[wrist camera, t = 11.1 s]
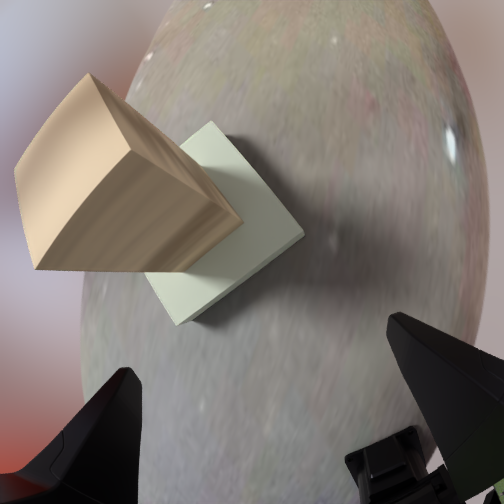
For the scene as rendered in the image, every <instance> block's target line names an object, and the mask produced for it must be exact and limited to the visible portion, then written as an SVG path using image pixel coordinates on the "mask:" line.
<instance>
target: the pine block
mask: <svg viewBox="0 0 504 504" xmlns="http://www.w3.org/2000/svg"><path fill="white" fill-rule="evenodd" d="M14 173H15V181H16V189H17V195H18V202H19V207H20V213H21V218H22V223H23V227H24V232H25V236H26V240H27V244H28V248H29V252H30V255H31V259H32V262H33V266H34V269H35V270H56V271H93V272H166V273H183V272H185V271H186V270H187V269H188V268H189V267H191V266H192V265H193V264H194V263H195V262H197V261H198V260H199V259H200V258H201V257H203V256H204V255H205V254H206V253H207V252H209V251H210V250H211V249H212V248H214V247H215V246H216V245H217V244H218V243H220V242H221V241H222V240H223V239H225V238H226V237H227V236H228V235H230V234H231V233H232V232H233V231H235V230H236V229H237V228H238V227H239V226H241V225H242V224H243V223H244V222H243V220H242V219H241V218H240V216H239V215H238V214H237V212H236V211H235V210H234V208H233V207H232V206H231V205H230V203H229V202H228V201H227V199H226V198H225V197H224V195H223V194H222V193H221V191H220V190H219V189H218V187H217V186H216V185H215V184H214V182H213V181H212V180H211V178H210V177H209V176H208V174H207V173H206V172H205V170H204V169H203V168H202V167H201V165H199V164H198V163H197V162H196V161H195V160H194V159H193V158H191V157H190V156H189V155H188V154H187V153H186V152H184V151H183V150H182V149H181V148H180V147H179V146H178V145H176V144H175V143H174V142H173V141H172V140H171V139H169V138H168V137H167V136H166V135H165V134H163V133H162V132H161V131H160V130H159V129H158V128H156V127H155V126H154V125H153V124H152V123H150V122H149V121H148V120H147V119H146V118H144V117H143V116H142V115H141V114H140V113H138V112H137V111H136V110H135V109H134V108H132V107H131V106H130V105H129V104H127V103H126V102H125V101H124V100H123V99H121V98H120V97H119V96H118V95H116V94H115V93H114V92H113V91H111V90H110V89H109V88H108V87H106V86H105V85H104V84H103V83H101V82H100V81H99V80H98V79H96V78H95V77H94V76H93V75H91V74H90V73H88V74H87V75H86V76H85V77H84V78H83V79H82V80H81V81H80V82H79V83H78V84H77V85H76V86H75V87H74V88H73V89H72V91H71V92H70V93H69V94H68V95H67V96H66V97H65V99H64V100H63V101H62V102H61V103H60V104H59V106H58V107H57V108H56V109H55V111H54V112H53V113H52V114H51V116H50V117H49V118H48V120H47V121H46V122H45V124H44V125H43V126H42V128H41V129H40V130H39V132H38V133H37V135H36V136H35V137H34V139H33V140H32V142H31V143H30V145H29V146H28V148H27V149H26V151H25V152H24V154H23V156H22V157H21V159H20V161H19V162H18V164H17V165H16V167H15V169H14Z"/></svg>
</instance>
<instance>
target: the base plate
mask: <svg viewBox="0 0 504 504" xmlns="http://www.w3.org/2000/svg"><path fill="white" fill-rule="evenodd" d="M179 147H180V148H181V149H182V150H183V151H184V152H186V153H187V154H188V155H189V156H190V157H191V158H193V159H194V160H195V161H196V162H197V163H198V164H199V165H201V167H202V168H203V169H204V170H205V172H206V173H207V174H208V176H209V177H210V178H211V180H212V181H213V182H214V184H215V185H216V186H217V187H218V189H219V190H220V191H221V193H222V194H223V195H224V197H225V198H226V199H227V201H228V202H229V203H230V205H231V206H232V207H233V208H234V210H235V211H236V212H237V214H238V215H239V216H240V218H241V219H242V220H243V222H244V223H243V224H242V225H241V226H239V227H238V228H237V229H236V230H235V231H233V232H232V233H231V234H230V235H228V236H227V237H226V238H225V239H223V240H222V241H221V242H220V243H218V244H217V245H216V246H215V247H214V248H212V249H211V250H210V251H209V252H207V253H206V254H205V255H204V256H203V257H201V258H200V259H199V260H198V261H197V262H195V263H194V264H193V265H192V266H191V267H189V268H188V269H187V270H186V271H185V272H183V273H166V272H144V273H145V275H146V277H147V279H148V280H149V282H150V284H151V286H152V287H153V289H154V291H155V292H156V294H157V296H158V297H159V299H160V301H161V302H162V304H163V306H164V307H165V309H166V310H167V312H168V314H169V315H170V317H171V318H172V320H173V321H174V323H175V325H176V326H178V325H181V324H184V323H186V322H189V321H192V320H193V319H194V318H196V317H197V316H198V315H200V314H201V313H202V312H204V311H205V310H207V309H208V308H209V307H211V306H212V305H213V304H215V303H216V302H217V301H219V300H220V299H221V298H223V297H224V296H226V295H227V294H228V293H230V292H231V291H232V290H234V289H235V288H236V287H238V286H239V285H240V284H242V283H243V282H244V281H246V280H247V279H248V278H250V277H251V276H252V275H254V274H255V273H256V272H258V271H259V270H260V269H262V268H263V267H264V266H266V265H267V264H268V263H270V262H271V261H272V260H273V259H275V258H276V257H277V256H279V255H280V254H281V253H283V252H284V251H285V250H287V249H288V248H289V247H291V246H292V245H293V244H294V243H296V242H297V241H298V240H300V239H301V238H302V237H304V236H305V234H304V231H303V229H302V228H301V227H300V225H299V224H298V223H297V222H296V220H295V219H294V218H293V217H292V215H291V214H290V213H289V211H288V210H287V209H286V208H285V206H284V205H283V204H282V203H281V201H280V200H279V199H278V198H277V197H276V195H275V194H274V193H273V192H272V190H271V189H270V188H269V187H268V186H267V184H266V183H265V182H264V181H263V180H262V178H261V177H260V176H259V175H258V174H257V172H256V171H255V170H254V169H253V168H252V166H251V165H250V164H249V163H248V162H247V161H246V159H245V158H244V157H243V156H242V155H241V154H240V152H239V151H238V150H237V149H236V148H235V147H234V145H233V144H232V143H231V142H230V141H229V140H228V139H227V138H226V136H225V135H224V134H223V133H222V132H221V131H220V130H219V129H218V127H217V126H216V125H215V124H214V123H213V122H212V121H210V122H209V123H207V124H206V125H205V126H204V127H202V128H201V129H200V130H199V131H197V132H196V133H195V134H194V135H192V136H191V137H190V138H189V139H188V140H186V141H185V142H184V143H183V144H182V145H181V146H179Z"/></svg>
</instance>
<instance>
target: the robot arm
mask: <svg viewBox="0 0 504 504" xmlns="http://www.w3.org/2000/svg"><path fill="white" fill-rule="evenodd" d="M386 335H387V339H388V341H389V344H390V346H391V349H392V351H393V353H394V356H395V358H396V361H397V363H398V366H399V368H400V371H401V373H402V375H403V377H404V379H405V381H406V383H407V385H408V386H409V388H410V390H411V392H412V394H413V396H414V398H415V400H416V402H417V404H418V406H419V408H420V410H421V412H422V414H423V416H424V418H425V420H426V422H427V424H428V426H429V429H430V431H431V433H432V435H433V437H434V439H435V442H436V444H437V446H438V448H439V450H440V453H441V455H442V457H443V460H444V461H445V465H446V467H447V469H446V467H445V465H444V464H442V465H441V466H439V467H438V469H436V470H435V471H433V472H432V473H430V474H428V472H427V470H426V464H425V460H424V456H423V452H422V448H421V445H420V441H419V438H418V434H417V431H416V429H415V427H414V426H410V427H408V428H406V429H404V430H402V431H400V432H398V433H396V434H394V435H392V436H390V437H388V438H385V439H383V440H381V441H379V442H377V443H374V444H372V445H370V446H367V447H365V448H363V449H360V450H358V451H355V452H353V453H350V454H348V455H346V456H345V463H346V465H347V467H348V469H349V471H350V473H351V475H352V477H353V479H354V481H355V483H356V484H357V486H358V488H359V495H360V504H466V503H465V501H466V500H468V499H470V498H472V497H474V496H476V495H478V494H479V493H481V492H483V491H484V490H486V489H488V488H489V487H491V486H494V489H493V490H492V491H490V492H489V493H488V494H487V495H486V497H485V500H484V503H483V504H504V360H502V359H499V358H497V357H495V356H493V355H491V354H488V353H486V352H484V351H482V350H479V349H478V348H476V347H474V346H472V345H469V344H467V343H465V342H463V341H461V340H459V339H457V338H455V337H453V336H451V335H449V334H446V333H444V332H442V331H440V330H438V329H436V328H434V327H432V326H430V325H428V324H425V323H423V322H421V321H419V320H417V319H415V318H413V317H411V316H408V315H406V314H404V313H402V312H397V313H394V314H391V315H390V316H389V318H388V324H387V331H386ZM141 431H142V384H141V381H140V380H139V378H138V377H137V375H136V374H135V372H134V371H133V370H132V368H130V367H121V368H119V369H118V370H117V371H116V372H115V373H114V374H113V375H112V376H111V378H110V379H109V380H108V381H107V382H106V383H105V384H104V385H103V386H102V387H101V388H100V389H99V390H98V391H97V393H96V394H95V395H94V396H93V397H92V398H91V399H90V400H89V401H88V402H87V403H86V404H85V406H84V407H83V408H82V409H81V410H80V411H79V412H78V413H77V414H76V415H75V416H74V417H73V419H72V420H71V421H70V422H69V423H68V424H67V425H66V426H65V427H64V428H63V430H62V431H61V432H60V433H59V434H58V435H57V436H56V437H55V438H54V439H53V440H52V441H51V443H49V445H48V446H46V447H45V449H43V450H42V451H41V452H40V453H39V454H38V455H37V456H36V457H35V458H34V459H32V460H31V461H30V462H29V463H28V464H27V465H26V466H25V467H24V468H22V469H21V470H19V471H17V472H14V473H5V474H0V504H138V475H139V456H140V442H141ZM410 431H412V432H411V433H409V432H410ZM349 458H352V459H350V460H349Z"/></svg>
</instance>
